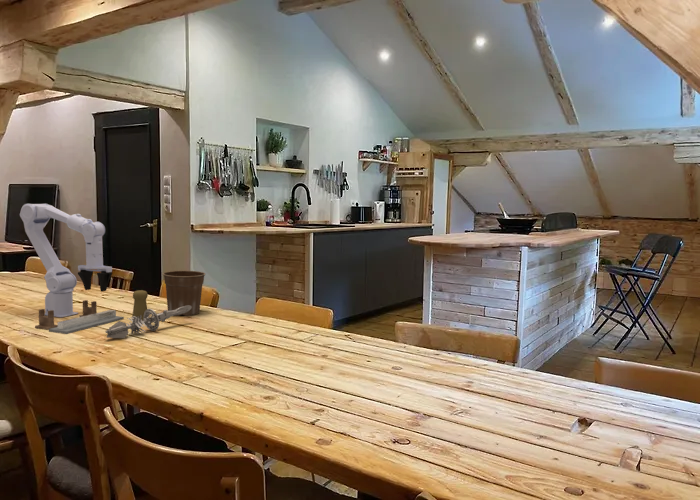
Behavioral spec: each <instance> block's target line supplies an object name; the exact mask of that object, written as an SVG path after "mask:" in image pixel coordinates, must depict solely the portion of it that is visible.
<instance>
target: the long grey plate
mask: <svg viewBox="0 0 700 500" xmlns="http://www.w3.org/2000/svg"><path fill="white" fill-rule="evenodd" d="M124 319H125V317H124V316H121V315H116V317H113V318H109V319H105V320H101V321H97V322H93V323H89V324H85V325H81V326H77V327H73V328H69V329H65V330H59V329H58V327H55V328H51V329H49V330H48V332H49V333H58V334H64V335H68V334H69V335H70V334H72V333H73V334H74V333H76V332H79V331H83V330H86V329H92V328H94V327H99V326H102V325H107V324H111V323H114V322H118V321H122V320H124Z"/></svg>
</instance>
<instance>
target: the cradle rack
mask: <svg viewBox="0 0 700 500" xmlns="http://www.w3.org/2000/svg"><path fill="white" fill-rule="evenodd" d="M90 304H91V305H90V306H89V301H88V300H82V314H80V315H79V316H78V317H82V316H87V315H91V314H95V313H98V312H97V310H98V309H97V301H95V300H94V301H91V303H90ZM55 327H58V324H55V316H54V310H50V311H48V316H47V315H45V308H41V309H38V324H37V325H34V328H35V329H39V330H47V331H49V329H51V328H55Z"/></svg>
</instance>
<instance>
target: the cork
mask: <svg viewBox="0 0 700 500" xmlns="http://www.w3.org/2000/svg"><path fill="white" fill-rule="evenodd" d="M132 299H133V300H134V301H133V308H132V309H133V310H132V316H131V317H133V316H135V317H137V316H139V317H140V315H142V317H141V319H142V321H144V320H143V319H144V312H145V311H146V310H147V309H148V304H147V299H148V292H147V291H146V290H143V289H141V290H135V291H133V293H132ZM133 318H134V317H133ZM131 319H132V318H131ZM132 320H134V319H132Z"/></svg>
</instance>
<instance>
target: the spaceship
mask: <svg viewBox="0 0 700 500" xmlns="http://www.w3.org/2000/svg"><path fill="white" fill-rule="evenodd" d="M191 308H192V306H190V305H187V306H183V307H180V308H178V309H176V310H172V311H168V309H164V310H163V311H162V312H160V313H159V312H158V313H157V312H156V311H155V310H154V309H152V308H147V310H146V311H145V312H144V319H143V320H144V321H142V319H141V317H142V315H140V317H139V316H137V317H135V316H133V317H134V318H133V317H132V316H130V317H127V319H128V321H131V322H127V323H126V322H124V321H122V320H118V321H116V323H114V324H113V325H111V326H110V327H109V328H108V329H106V330H105V334H106V338H108V339H109V338H110V339H125V338H126V337H127V336H128V334H129V330H130V331H131V332H130V333H131V335H133V334H140V333H141V334H142V333H143V332H145V333H146V330H144V329H143V328H144V327H146V328H147V329H148V330H149V331H151V332H156V331H157V330H158V329H159V327H160V322H162V323H163V322H166V320H168V319H169V318H171V317H174V315H179V314H182V313H186V312H188V311H189V310H190V309H191ZM132 319H134V320H132Z"/></svg>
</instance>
